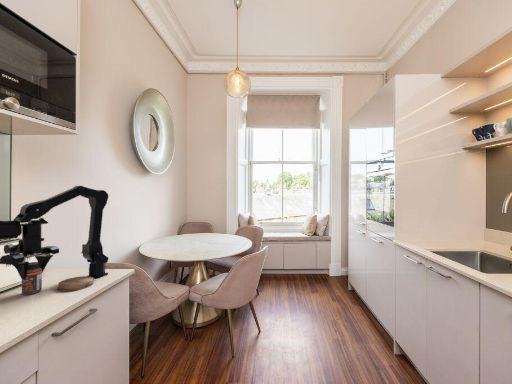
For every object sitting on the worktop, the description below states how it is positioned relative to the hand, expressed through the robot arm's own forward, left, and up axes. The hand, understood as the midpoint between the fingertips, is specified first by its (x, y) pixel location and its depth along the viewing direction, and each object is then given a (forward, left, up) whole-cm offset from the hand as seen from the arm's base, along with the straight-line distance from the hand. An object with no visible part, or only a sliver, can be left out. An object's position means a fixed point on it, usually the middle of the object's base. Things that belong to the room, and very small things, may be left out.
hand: (31, 276), depth 102 cm
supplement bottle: (0, 0, -6) cm, 6 cm away
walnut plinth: (-9, +11, -6) cm, 15 cm away
